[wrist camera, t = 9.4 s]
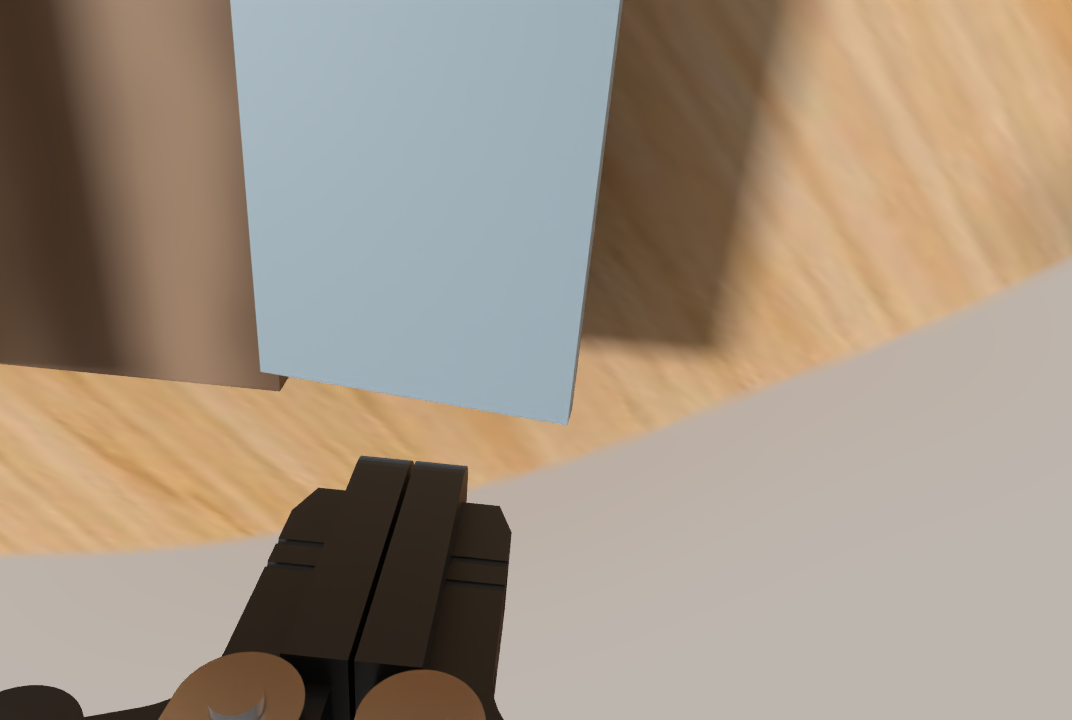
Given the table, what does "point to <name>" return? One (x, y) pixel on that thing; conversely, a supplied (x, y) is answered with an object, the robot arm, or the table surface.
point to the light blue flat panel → (425, 191)
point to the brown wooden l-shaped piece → (125, 193)
